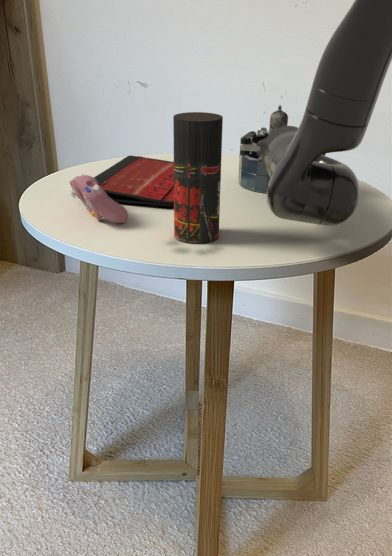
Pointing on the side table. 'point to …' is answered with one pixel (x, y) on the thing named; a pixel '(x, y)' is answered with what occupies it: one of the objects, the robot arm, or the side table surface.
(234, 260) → the side table surface
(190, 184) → the deodorant
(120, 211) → the video game controller
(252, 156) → the pot
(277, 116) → the salt shaker
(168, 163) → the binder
